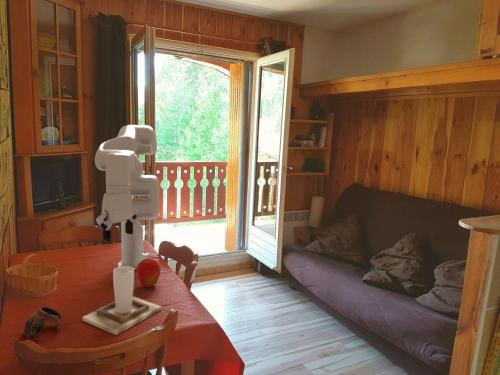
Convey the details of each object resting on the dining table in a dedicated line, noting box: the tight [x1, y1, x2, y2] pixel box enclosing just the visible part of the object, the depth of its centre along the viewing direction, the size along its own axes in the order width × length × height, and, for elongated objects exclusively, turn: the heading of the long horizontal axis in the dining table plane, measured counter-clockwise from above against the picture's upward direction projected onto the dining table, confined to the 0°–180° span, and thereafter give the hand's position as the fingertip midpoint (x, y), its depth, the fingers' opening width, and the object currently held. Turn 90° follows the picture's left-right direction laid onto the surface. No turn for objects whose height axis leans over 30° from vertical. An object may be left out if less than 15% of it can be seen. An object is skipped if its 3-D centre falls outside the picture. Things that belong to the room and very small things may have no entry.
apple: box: [136, 257, 162, 288], centre depth 149 cm, size 9×9×12 cm
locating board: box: [82, 296, 162, 336], centre depth 126 cm, size 20×16×3 cm
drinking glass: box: [112, 266, 135, 314], centre depth 126 cm, size 7×7×15 cm
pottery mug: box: [23, 306, 62, 339], centre depth 113 cm, size 12×10×8 cm
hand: (118, 237), depth 128 cm, fingers open, 9 cm apart
